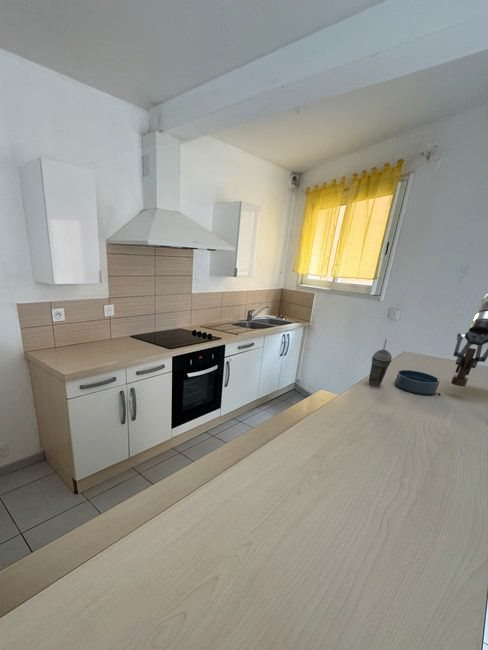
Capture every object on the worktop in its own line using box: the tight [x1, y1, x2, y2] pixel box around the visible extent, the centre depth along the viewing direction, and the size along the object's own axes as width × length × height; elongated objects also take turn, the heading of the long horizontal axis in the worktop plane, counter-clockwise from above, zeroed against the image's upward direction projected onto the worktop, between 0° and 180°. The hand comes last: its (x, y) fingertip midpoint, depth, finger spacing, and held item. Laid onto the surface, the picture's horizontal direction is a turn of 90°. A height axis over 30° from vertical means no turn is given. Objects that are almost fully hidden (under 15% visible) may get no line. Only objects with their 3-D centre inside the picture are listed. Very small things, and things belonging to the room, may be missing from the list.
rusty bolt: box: [450, 347, 477, 387], centre depth 129 cm, size 5×5×15 cm
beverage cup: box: [368, 338, 392, 387], centre depth 137 cm, size 7×7×20 cm
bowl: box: [393, 369, 441, 395], centre depth 138 cm, size 15×15×6 cm
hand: (462, 372), depth 127 cm, fingers closed on rusty bolt, 3 cm apart
